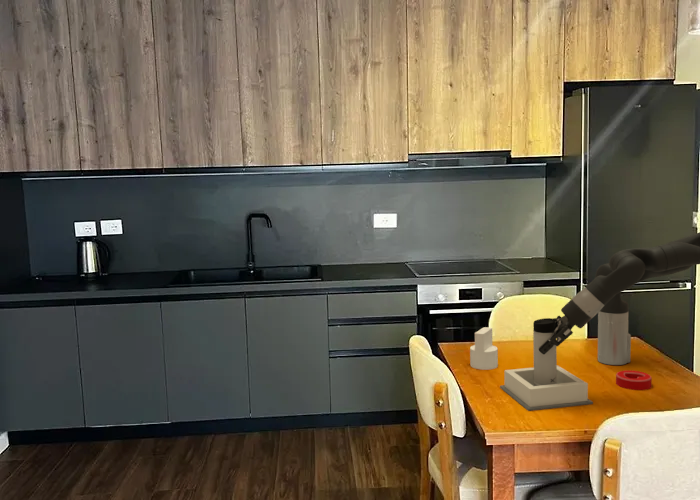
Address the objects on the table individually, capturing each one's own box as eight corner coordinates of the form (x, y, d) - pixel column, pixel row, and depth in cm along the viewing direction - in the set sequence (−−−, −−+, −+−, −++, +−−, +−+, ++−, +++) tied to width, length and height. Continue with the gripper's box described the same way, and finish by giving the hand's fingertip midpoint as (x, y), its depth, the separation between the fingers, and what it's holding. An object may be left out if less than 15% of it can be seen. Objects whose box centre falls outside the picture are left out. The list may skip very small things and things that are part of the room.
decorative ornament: (621, 378, 193) (621, 368, 193) (655, 383, 187) (655, 373, 187) (611, 386, 186) (611, 376, 186) (645, 393, 180) (646, 382, 180)
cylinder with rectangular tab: (492, 371, 204) (492, 335, 202) (466, 367, 208) (465, 332, 207) (501, 363, 211) (501, 328, 210) (475, 360, 216) (475, 326, 214)
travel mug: (559, 390, 176) (558, 321, 174) (535, 390, 178) (534, 321, 175) (556, 383, 182) (555, 316, 180) (533, 383, 184) (532, 316, 181)
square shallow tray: (558, 381, 191) (558, 363, 191) (592, 403, 173) (593, 384, 172) (500, 387, 188) (499, 369, 187) (528, 410, 170) (528, 390, 169)
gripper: (598, 323, 168) (552, 365, 172) (587, 311, 182) (545, 350, 186) (577, 304, 168) (532, 346, 172) (568, 293, 182) (527, 333, 186)
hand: (539, 348), depth 179 cm, fingers closed on travel mug, 6 cm apart
